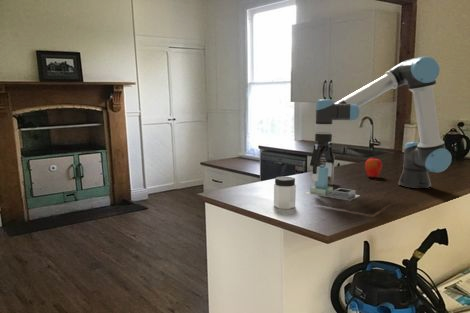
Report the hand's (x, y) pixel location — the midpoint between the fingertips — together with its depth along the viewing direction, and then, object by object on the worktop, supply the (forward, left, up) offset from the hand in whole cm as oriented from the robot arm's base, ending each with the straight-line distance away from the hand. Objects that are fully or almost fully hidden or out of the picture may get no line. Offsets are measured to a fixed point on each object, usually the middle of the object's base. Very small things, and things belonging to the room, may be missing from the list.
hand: (321, 178), depth 180 cm
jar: (+2, +29, -8) cm, 30 cm away
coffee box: (+8, -21, -8) cm, 24 cm away
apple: (-4, -57, -8) cm, 58 cm away
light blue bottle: (0, 0, -7) cm, 7 cm away
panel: (-6, 0, -8) cm, 9 cm away
